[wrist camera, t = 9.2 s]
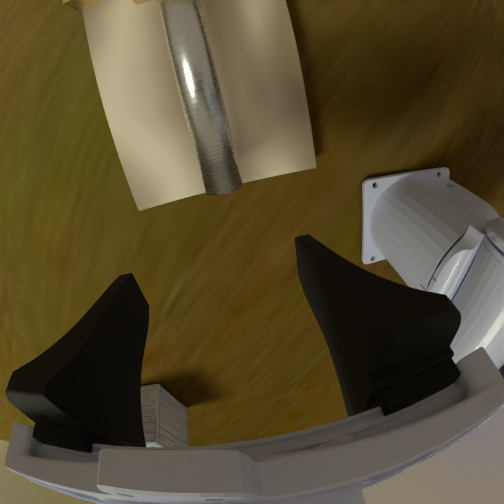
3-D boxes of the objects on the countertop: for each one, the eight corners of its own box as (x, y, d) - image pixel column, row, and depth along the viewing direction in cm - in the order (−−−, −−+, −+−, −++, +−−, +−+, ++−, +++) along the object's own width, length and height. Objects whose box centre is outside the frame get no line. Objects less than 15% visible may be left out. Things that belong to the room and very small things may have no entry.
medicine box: (131, 386, 31) (125, 444, 24) (160, 381, 31) (156, 444, 24) (162, 410, 35) (160, 462, 28) (188, 407, 35) (189, 460, 28)
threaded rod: (184, -59, 7) (182, -74, 5) (240, 177, 15) (244, 189, 14) (149, -49, 7) (142, -63, 5) (206, 185, 15) (205, 198, 14)
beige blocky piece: (254, -78, 8) (271, -126, 2) (309, 161, 19) (350, 197, 13) (85, -34, 8) (43, -64, 2) (143, 202, 19) (117, 253, 13)
